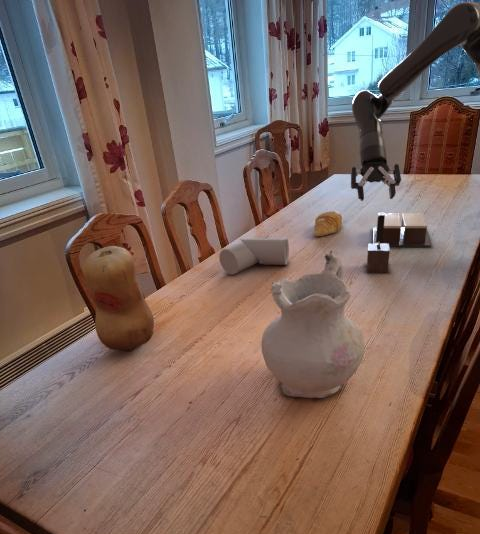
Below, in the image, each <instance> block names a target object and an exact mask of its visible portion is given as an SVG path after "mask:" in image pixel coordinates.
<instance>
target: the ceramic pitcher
mask: <svg viewBox="0 0 480 534" xmlns="http://www.w3.org/2000/svg"><path fill="white" fill-rule="evenodd" d="M324 258H325V264H324V269H323V270H322V271H321V272H316V273H307V274H304V275H302V276H299V278H298V279H295V280H293V279H291V278H286V277H280V278H279V280H278V281H277V282H274V281H272V282H271V283H272V284H271V287H270V288H269V290H270V293H271V295H272V297H273V301H274V303H275V304H276V306H277V307H278V309H280V312H281V315H279V316H277V317H276V318H274V319H273V320H272V321H270V323H269V324H268V326H266V328H265V329H264V331H263V333H262V337H261V353H262V357H263V360H264V363H265V365H266V367H267V369H268V370H269V372H270V373H271V374H272V375H273V377H275V378H276V379H277V380H278V382H280V383H281V386H280V388H281V390H282V393H283V395H285V396H287V397H295V398H297V397H298V398H307V399H308V398H309V399H325V398H328V397H331V396H333V395H334V394H336V393H337V392H338V391H339V390H341V389H342V387H343V386H342V385H344V384H345V383H346V382H348V381H349V380H350V379H351V378H352V377H353V376H354V375H355V373H356V372H357V371H358V369H359V367H360V365H361V363H362V361H363V358H364V355H365V349H366V346H365V345H366V344H365V338H364V335H363V333H362V331H361V330H360V328H359V326H358V325H357V324H356V323H355V322H354V321H352V320H351V319H349V318H348V317H347V316H346V315H345V308H346V304H347V303H348V301H349V300H350V298H351V291H349V290H348V286H347V285H346V283H345V281H344V280H343V279H344V265H343V261H342V259H341V258H340V256H338V251H337V252H336V250H334V251H333V250H329V251H328V252H327V253H326V254H325V256H324Z"/></svg>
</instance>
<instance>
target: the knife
mask: <svg viewBox="0 0 480 534" xmlns="http://www.w3.org/2000/svg"><path fill="white" fill-rule="evenodd" d="M385 213H386V212H377V222H376V228H377V233H376V242H378V249H379V247H380V242H383V232H384V220H385Z"/></svg>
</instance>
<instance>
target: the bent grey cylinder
mask: <svg viewBox="0 0 480 534" xmlns="http://www.w3.org/2000/svg"><path fill="white" fill-rule="evenodd" d="M239 240H240V241H239V242H237V243H234V244H233V245H231V246H229V247H226V248H223V249H221V251H220V252H219V256H218V257H219V263H220V266H221V268H222V269H223V271H224V272H225V273H226V274H228V275H230V276H231V275H235V274H238V273H239V272H242V271H244V270H246V269H248V268H249V267H252V266H254V265H256V264H258V263H261V264H262V265H264V266H265V265H268V266H269V265H271V266H287V265H288V261H289V253H290V246H289V245H290V244H289V240H288V238H239Z"/></svg>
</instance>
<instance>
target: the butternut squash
mask: <svg viewBox="0 0 480 534" xmlns="http://www.w3.org/2000/svg"><path fill="white" fill-rule="evenodd" d="M83 274H84V278H85V281H86V286H87V288H88V292H89V294H90V297H91V298H92V300H93V302H94V304H95V307H96V310H95V311H96V312H95V319H94V321H95V322H94V327H95V332H96V335H97V338H98V339H99V341H100V342H101V344H102V345H104V346H105V347H107V349H110V350H115V351H124V352H128V351H135V350H137V349H138V348H139V347H140V346H143V345H145V344H147V343H148V342H149V341H150V340H151V338H152V337H153V335H154V327H155V320H154V315H153V311H152V310H151V309H150V306H149V305H148V303H147V301H146V299H145V297H144V293H143V290H142V286H141V282H140V279H139V275H138V267H137V265H136V262H135V261H134V257H133V255H132V253H131V252H130V251H129V250H128V249H127V248H124V247H121V246H118V245H117V246H116V245H110V246H105V247H102V248H100V249H97V250H94V251H93V252H92V253H91V254H89V255H88V256H87V258H86V259H85V260H84V264H83Z"/></svg>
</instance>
